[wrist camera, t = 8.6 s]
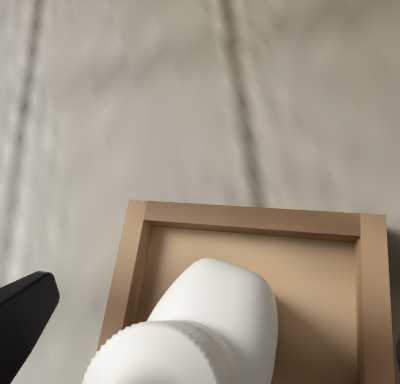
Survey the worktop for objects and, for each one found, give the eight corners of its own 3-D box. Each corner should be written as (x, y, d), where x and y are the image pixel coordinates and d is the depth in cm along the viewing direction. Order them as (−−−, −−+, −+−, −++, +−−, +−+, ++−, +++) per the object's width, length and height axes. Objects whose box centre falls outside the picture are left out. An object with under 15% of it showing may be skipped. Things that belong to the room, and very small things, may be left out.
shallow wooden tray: (390, 555, 11) (406, 591, 10) (90, 466, 14) (68, 482, 13) (375, 224, 15) (385, 215, 14) (141, 209, 18) (129, 199, 17)
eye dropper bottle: (318, 344, 14) (457, 449, 3) (220, 439, 13) (-33, 964, 3) (247, 267, 16) (172, 154, 5) (159, 348, 15) (-143, 430, 4)
